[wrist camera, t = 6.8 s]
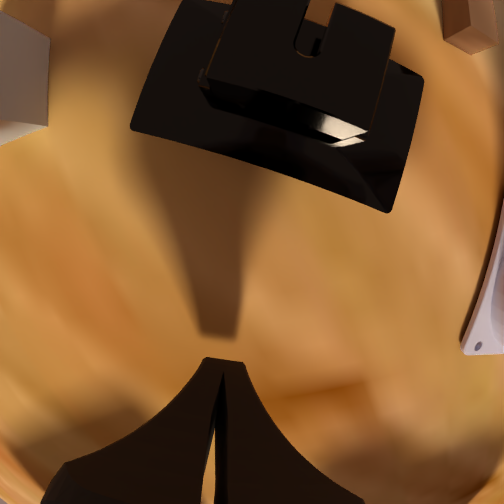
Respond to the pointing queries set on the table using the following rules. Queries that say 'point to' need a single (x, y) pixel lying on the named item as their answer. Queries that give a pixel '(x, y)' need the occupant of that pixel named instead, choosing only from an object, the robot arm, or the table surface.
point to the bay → (470, 24)
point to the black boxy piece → (286, 93)
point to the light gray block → (22, 79)
